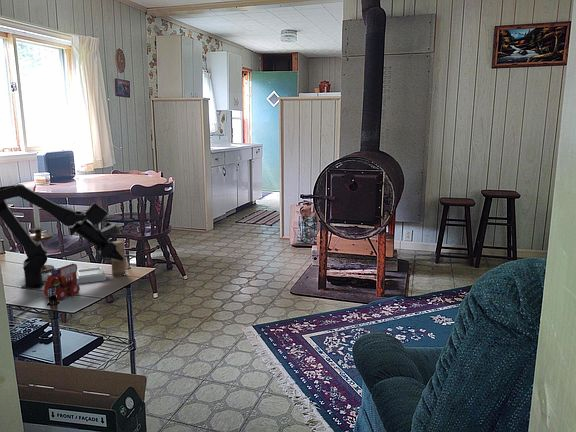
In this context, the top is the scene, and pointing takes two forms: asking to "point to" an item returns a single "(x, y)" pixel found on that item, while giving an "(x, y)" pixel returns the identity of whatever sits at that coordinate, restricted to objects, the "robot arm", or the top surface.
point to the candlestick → (40, 234)
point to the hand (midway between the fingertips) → (121, 258)
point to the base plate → (90, 275)
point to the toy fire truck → (63, 281)
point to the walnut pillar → (119, 265)
